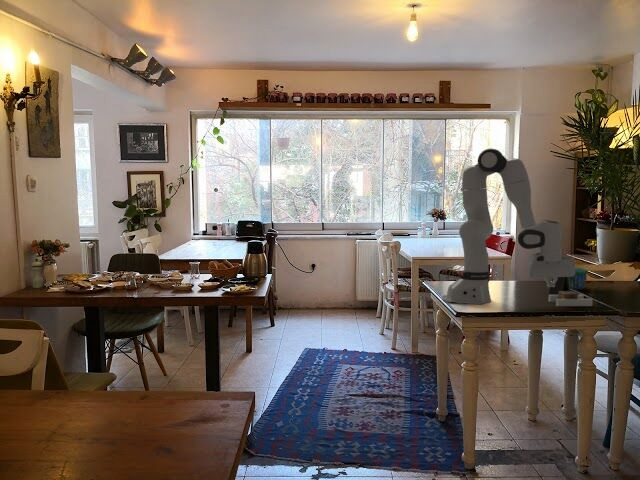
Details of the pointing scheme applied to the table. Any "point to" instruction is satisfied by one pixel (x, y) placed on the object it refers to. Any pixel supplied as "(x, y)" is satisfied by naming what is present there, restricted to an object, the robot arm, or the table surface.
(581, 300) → the chute
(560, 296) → the walnut block
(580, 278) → the snack cup
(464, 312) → the table surface
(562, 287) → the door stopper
